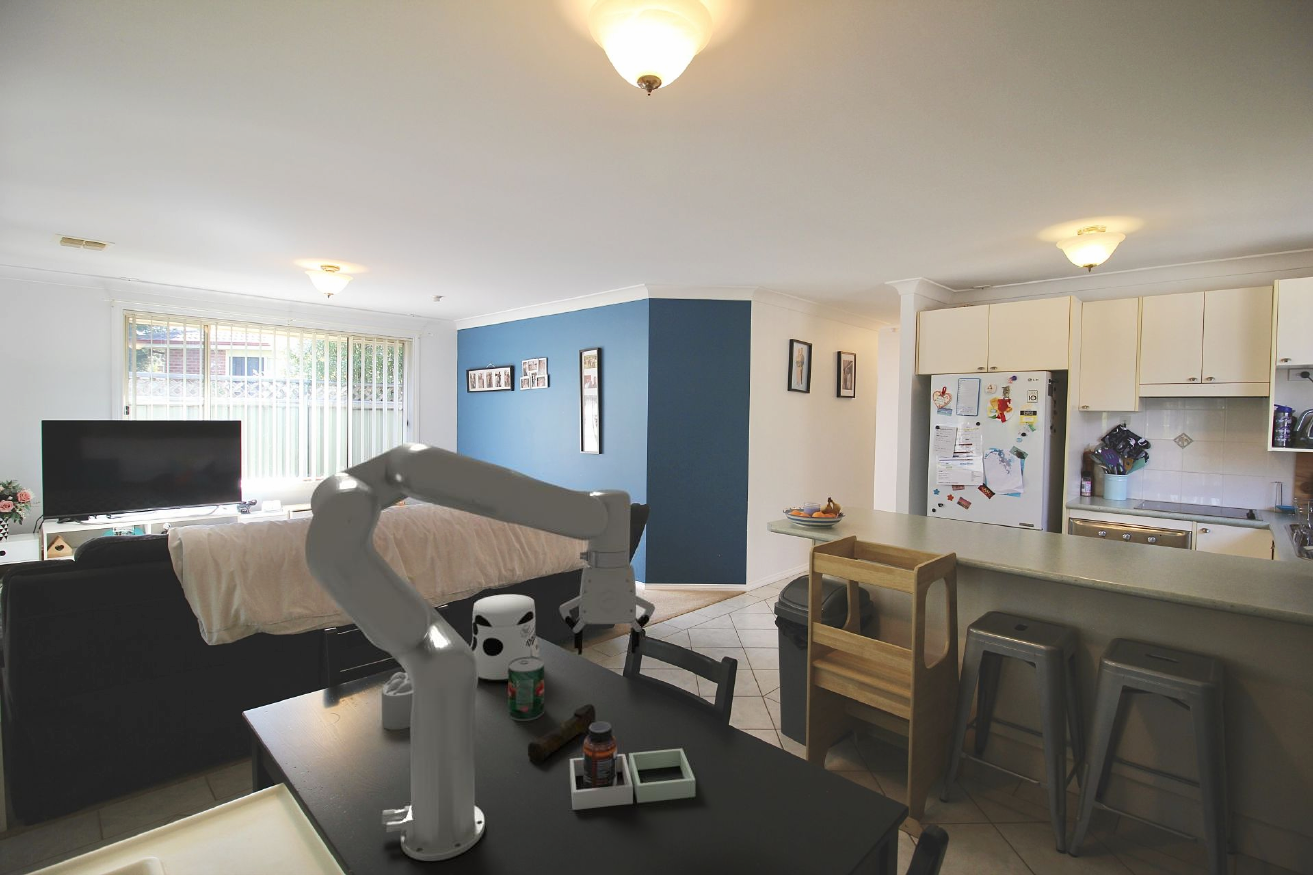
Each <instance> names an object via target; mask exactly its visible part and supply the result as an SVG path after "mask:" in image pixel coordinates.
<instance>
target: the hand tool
mask: <svg viewBox="0 0 1313 875" xmlns="http://www.w3.org/2000/svg"><path fill="white" fill-rule="evenodd" d="M595 722H596V709H595V706H594V705H593V704H592V703H589V704H585V705H583V706H582V707H580V708H577V709H576V710H575V711H573V715H572V716H571V717H570V718H569V719H568V720H566V721H564V722H563V723H561V724H560V725H558V726H557V727H556V728H554V729H552V730H551V731H549V732H547V733H546V734H545V735H543V736H541V737H540V738H538V739H537V740H534V741H531V742H529V743H528V745H527V756H528V758H529V760H530V761H532V762H535V763H537V764H542V763H544V760H548V757H549V756H550V755H551V754H552V753H554V752H555V751H556V750H557V749H559V748H560V747H562V746H564V745H565V744H566V743H567V742H569V741H571V740H572V739H573V738H575V737H576V736H577V735H579V734H580V735H582V734H583V735H584V734H585V733H586V732H587V731H589V726H590V725H591V724H592V723H595Z"/></svg>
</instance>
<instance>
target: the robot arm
mask: <svg viewBox="0 0 1313 875" xmlns="http://www.w3.org/2000/svg"><path fill="white" fill-rule="evenodd" d="M408 498H410V499H414V500H416V501H419V502H423V503H428V504H431V505H436V506H440V507H444V508H445V507H446V508H448V509H453V510H458V511H461V512H466V513H469V514H472V515H477V516H479V517H484V518H487V519H492V520H495V521H498V522H502V523H507V524H512V525H517V526H523V527H527V528H530V529H534V530H538V531H542V532H546V533H548V534H553V535H556V536H557V535H558V536H561V537H566V538H569V539H573V540H577V541H584V542H585V541H587V542H588V543H587V545H588V546H587V549H586V550H585V551H580V552H579V560H583V561H585V562H586V564H584V566H583V569H582V573H581V579H580V580H581V581H580V590H579V595H578V596H576V597H574V598H572V599H571V600H569V601H566V602H564V603H562V604H561V605H560V606H559V609H558V610H559V613H560V614H561V617H562V618H563V619H564V623H565V625H567V626H568V627H569V628H570V629H572V631H573V632H574V637H573V638H574V639H573V640H574V644H573V645H574V646H573V649H578V650H577V655H578V656H581V655H583V628H584V626H585V625H623V624H624V625H625V624H629V625H630V626H631V627H630V640H629V641H630V642H629V644H630V646H629V647H630V653H631V654H634V655H636V648H639V647H640V632H641V631H642V629H643V628H644V627H645V626H646V625H647V624H648V623H649V622H650V619H651V617H652V616H653V614H654V612H655V610H656V607H655V605H654V603H652V602H650V601H648V600H646V599H644V598H642V597H640V596H638V595H637V589H636V588H637V587H636V575H635V568H634V566H633V565H632V564H631V563H630V551H631V550H630V545H631V544H630V543H631V505H632V504H631V496H630V494H629V493H628V492H627V491H624V490H620V489H598V490H594V491H587V490H585V491H583V490H573V489H569V488H566V487H562V486H559V485H556V484H552V483H548V482H547V481H543V480H539V479H537V478H534V477H531V476H529V475H527V474H524V473H522V472H519V471H517V470H515V469H510V468H508V467H504V466H501V465H500V464H499V465H498V464H495V463H491V462H488V461H485V460H481V459H478V458H476V457H475V458H474V457H471V456H467V455H464V454H462V453H457V452H454V451H450V450H447V449H444V448H441V447H437V446H434V445H429V444H426V443H425V444H424V443H421V442H407V443H406V442H405V443H403V444H400V445H398V446H395V447H393V448H391V449H389V450H387V451H384V452H382V453H380V454H378V455H375V456H373V457H371V458H369V459H365V460H364V461H362V462H360V463H356V464H355V465H352V466H350V467H348V468H345V469H344V470H340V471H339V472H336V473H334V474H332V475H330V476H328V477H327V478H325V479H324V480H322V481H321V482H319V484H318V485H317V486H316V487H315V489H314V491H313V492H312V495H311V499H310V509H311V512H312V518H311V521H310V523H309V525H308V529H307V533H306V535H305V536H306V537H305V545H304V546H305V547H304V549H305V550H304V551H305V560H306V565H307V568H308V569H309V572H310V574H311V576H312V578H313V579H314V580H315V582H316V583H317V585H318V586H319V587H320V588H321V589H322V590H323V592H325V593H326V594H327V596H328V597H329V598H330V599H331V600H332V601H333V603H335V604H336V605H337V607H339V609H341V611H342V612H343V613H344V614H345V615H346V616H347V617H348V618H349V620H351V621H352V622H353V624H355V625H356V627H358V629H359V630H361V632H362V633H363V635H364V636H365V637H366V639H368V641H370V643H371V644H372V645H374V646H375V647H377V648H378V649H380V650H383V651H384V652H388V654H390V655H391V656H392V657H393V658H394V660H395V661H396V662H398V664H399V665H401V667H402V668H403V669H404V671H405V673H407V675H408V677H409V679H410V681H411V684H412V690H413V700H412V710H411V721H410V727H409V728H410V730H409V732H410V733H409V734H410V738H409V739H410V741H409V743H410V805H405V806H404V808H400V809H398V808H397V809H396V808H394V809H384V810H382V816H381V824H382V825H386V830H385V831H386V833H391V832H399V831H401V832H400V847H401V850H402V851H403V852H404V853H405V855H407V857H410V858H412V859H415V860H418V861H423V862H435V861H443V860H444V861H445V860H448V859H451V858H453V857H456V856H459V855H460V854H462V853H465V852H466V851H468V850H469V849H471V848H472V847H473V846H474V845H475V844H476V843H478V841H479V840H480V839H481V838H482V836H483V834H484V832H485V828H486V827H485V826H486V822H485V821H486V818H485V814H484V813H483V811H482V810H481V809H480V808H479V807H478V806H476V804H475V802H476V801H475V796H476V795H475V791H476V790H475V785H476V784H475V783H476V782H475V781H476V780H475V778H476V777H475V776H476V775H475V774H476V772H475V769H476V768H475V767H476V766H475V760H476V759H475V758H476V757H475V751H476V750H475V711H476V710H475V708H476V697H477V696H476V695H477V690H478V683H479V678H478V664H477V661H476V657H475V655H474V653H473V651H472V649H471V648H470V647H471V646H470V645H469V644H468V643H467V642H466V640H464V639H463V637H462V636H461V635H459V633H458V632H457V631H456V630H455V629H454V628H453V627H452V626H451V625H450V624H449V623H448V622H447V621H446V619H445V618H444V617H443V616H442V615H441V614H440V613H439V612H438V611H437V610H436V609H435V607H433V606H432V604H431V603H430V602H429V601H428V600H427V599H426V598H425V597H424V596H423V595H422V593H421V592H420V591H419V590H418V589H417V588H416V586H414V585H413V584H412V582H410V581H409V580H408V579H406V578H404V577H403V576H402V577H401V576H399V574H398V573H397V572H396V571H395V570H394V569H393V568H392V567H391V566H390V564H389V563H388V561H387V560H386V559H384V557H383V556H382V555H381V553H379V551H378V550H377V548H376V547H375V544H374V543H375V542H374V534H375V531H376V527H377V525H378V524H379V523H378V522H379V520H380V517H381V514H382V511H385V510H386V509H388V508H390V507H392V506H394V505H396V504H399V503H400V502H402V501H404V500H407V499H408ZM637 606H638V607H640V608H642V609H644V612H643V614H641V615H640V617H638V618H637V617H636V616H637ZM577 607H578V609H579V610H578V611H579V612H578V617H577V619H576V618H574V617H573V616H572V615H571V614H570V610H572V609H575V608H577Z"/></svg>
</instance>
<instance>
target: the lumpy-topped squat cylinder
mask: <svg viewBox="0 0 1313 875" xmlns="http://www.w3.org/2000/svg"><path fill="white" fill-rule="evenodd" d="M412 700H413V690H412V684H411V681H410V679H409V677H408V675H407V673H406V672H402V671H399V672H396V673H394V674H393V675H391V677H390V680H388V681H387V682H386V683H385V684H384V686H383V687H382V689H381V725H382V727H383V728H384V729H387V730H392V731H393V730H394V731H395V730H402V729H403V730H404V729H408V728H410V721H411V710H412Z"/></svg>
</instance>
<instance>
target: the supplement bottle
mask: <svg viewBox="0 0 1313 875" xmlns="http://www.w3.org/2000/svg"><path fill="white" fill-rule="evenodd" d="M612 729H613V728H612V725H611V723H610V722H607V721H603V720H602V721H594V723H592V724H591V725H590V726H589V729H588V735H587V736H585V739H584V740H583V754H582V755H583V756H582V758H583V775H582V776H583V789H592V788H602V787H611V786H618V784H617V782H618V772H617V754H618V742H617V741H618V740H617V738H616V736H615V735H614V734H613V731H612Z"/></svg>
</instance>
